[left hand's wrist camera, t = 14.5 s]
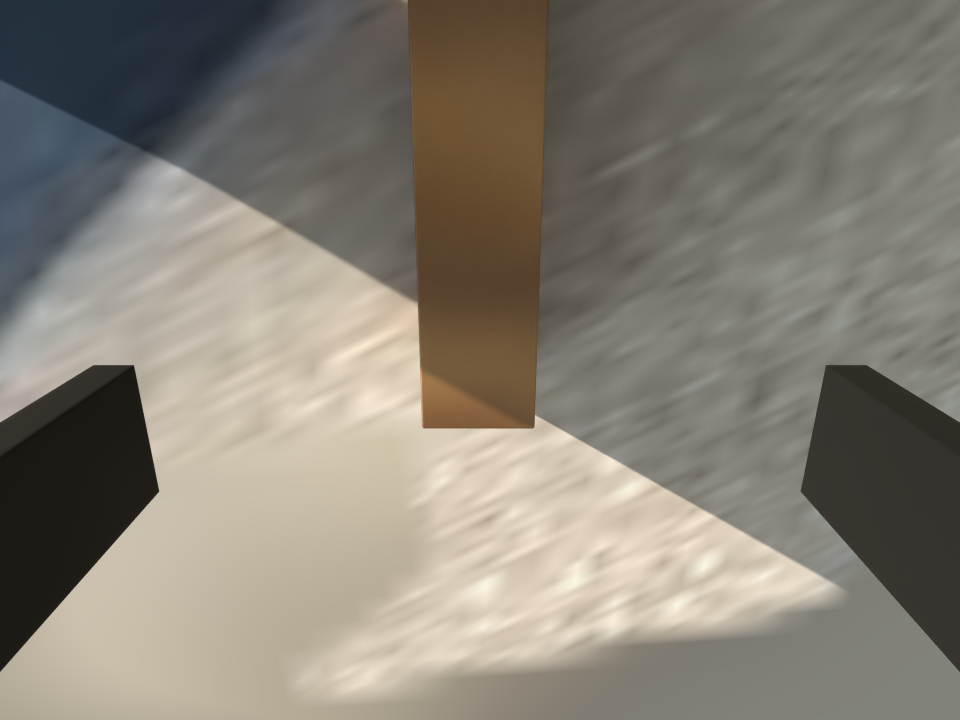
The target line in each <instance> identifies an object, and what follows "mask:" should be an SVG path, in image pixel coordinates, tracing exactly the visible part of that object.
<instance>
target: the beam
mask: <svg viewBox="0 0 960 720" xmlns="http://www.w3.org/2000/svg"><path fill="white" fill-rule="evenodd" d="M548 6H549V0H408V21H409V50H410V80H411V110H412V139H413V169H414V199H415V228H416V258H417V288H418V317H419V347H420V377H421V406H422V427H423V428H534V423H535V393H536V363H537V334H538V304H539V274H540V244H541V215H542V185H543V155H544V125H545V95H546V66H547V36H548Z"/></svg>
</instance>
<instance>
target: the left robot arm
mask: <svg viewBox="0 0 960 720" xmlns="http://www.w3.org/2000/svg"><path fill="white" fill-rule="evenodd" d="M158 492H159V488H158V483H157V478H156V473H155V468H154V463H153V458H152V453H151V448H150V443H149V438H148V433H147V428H146V423H145V418H144V413H143V408H142V403H141V398H140V393H139V388H138V383H137V378H136V373H135V368H134V365H93V366H92V367H90V368H88V369H87V370H85V371H83V372H82V373H80V374H79V375H77V376H75V377H74V378H72V379H70V380H69V381H67V382H66V383H64V384H62V385H61V386H59V387H57V388H56V389H54V390H53V391H51V392H49V393H48V394H46V395H44V396H43V397H41V398H40V399H38V400H36V401H35V402H33V403H31V404H30V405H28V406H26V407H25V408H23V409H22V410H20V411H18V412H17V413H15V414H13V415H12V416H10V417H9V418H7V419H5V420H4V421H2V422H0V671H1V670H2V669H3V668H4V667H5V666H6V665H7V663H8V662H9V661H10V660H11V659H12V658H13V657H14V656H15V654H16V653H17V652H18V651H19V650H20V649H21V648H22V646H23V645H24V644H25V643H26V642H27V641H28V640H29V638H30V637H31V636H32V635H33V634H34V633H35V632H36V631H37V629H38V628H39V627H40V626H41V625H42V624H43V623H44V621H45V620H46V619H47V618H48V617H49V616H50V615H51V614H52V612H53V611H54V610H55V609H56V608H57V607H58V606H59V604H60V603H61V602H62V601H63V600H64V599H65V598H66V597H67V595H68V594H69V593H70V592H71V591H72V590H73V589H74V587H75V586H76V585H77V584H78V583H79V582H80V581H81V580H82V578H83V577H84V576H85V575H86V574H87V573H88V572H89V570H90V569H91V568H92V567H93V566H94V565H95V564H96V563H97V561H98V560H99V559H100V558H101V557H102V556H103V555H104V553H105V552H106V551H107V550H108V549H109V548H110V547H111V546H112V544H113V543H114V542H115V541H116V540H117V539H118V538H119V536H120V535H121V534H122V533H123V532H124V531H125V530H126V529H127V527H128V526H129V525H130V524H131V523H132V522H133V521H134V519H135V518H136V517H137V516H138V515H139V514H140V513H141V512H142V510H143V509H144V508H145V507H146V506H147V505H148V504H149V502H150V501H151V500H152V499H153V498H154V497H155V496H156V494H157V493H158ZM801 492H802V493H803V495H804V496H805V497H806V498H807V499H808V500H809V501H810V502H811V504H812V505H813V506H814V507H815V508H816V509H817V510H818V512H819V513H820V514H821V515H822V516H823V517H824V518H825V519H826V521H827V522H828V523H829V524H830V525H831V526H832V527H833V529H834V530H835V531H836V532H837V533H838V534H839V535H840V536H841V538H842V539H843V540H844V541H845V542H846V543H847V544H848V546H849V547H850V548H851V549H852V550H853V551H854V552H855V553H856V555H857V556H858V557H859V558H860V559H861V560H862V561H863V563H864V564H865V565H866V566H867V567H868V568H869V569H870V570H871V572H872V573H873V574H874V575H875V576H876V577H877V578H878V580H879V581H880V582H881V583H882V584H883V585H884V586H885V587H886V589H887V590H888V591H889V592H890V593H891V594H892V595H893V597H894V598H895V599H896V600H897V601H898V602H899V603H900V605H901V606H902V607H903V608H904V609H905V610H906V611H907V612H908V614H909V615H910V616H911V617H912V618H913V619H914V620H915V622H916V623H917V624H918V625H919V626H920V627H921V628H922V629H923V631H924V632H925V633H926V634H927V635H928V636H929V637H930V639H931V640H932V641H933V642H934V643H935V644H936V645H937V646H938V648H939V649H940V650H941V651H942V652H943V653H944V654H945V656H946V657H947V658H948V659H949V660H950V661H951V662H952V663H953V665H954V666H955V667H956V668H957V669H958V670H959V671H960V422H958V421H956V420H955V419H953V418H951V417H950V416H948V415H947V414H945V413H943V412H942V411H940V410H938V409H937V408H935V407H934V406H932V405H930V404H929V403H927V402H925V401H924V400H922V399H920V398H919V397H917V396H916V395H914V394H912V393H911V392H909V391H907V390H906V389H904V388H903V387H901V386H899V385H898V384H896V383H894V382H893V381H891V380H890V379H888V378H886V377H885V376H883V375H881V374H880V373H878V372H877V371H875V370H873V369H872V368H870V367H868V366H867V365H826V368H825V373H824V378H823V383H822V388H821V393H820V398H819V403H818V408H817V413H816V418H815V423H814V428H813V433H812V438H811V443H810V448H809V453H808V458H807V463H806V468H805V473H804V478H803V483H802V488H801Z"/></svg>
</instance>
